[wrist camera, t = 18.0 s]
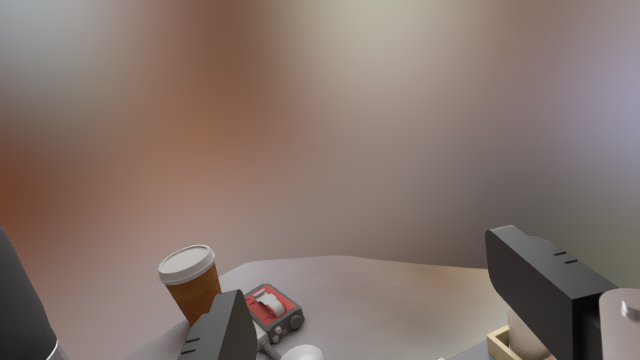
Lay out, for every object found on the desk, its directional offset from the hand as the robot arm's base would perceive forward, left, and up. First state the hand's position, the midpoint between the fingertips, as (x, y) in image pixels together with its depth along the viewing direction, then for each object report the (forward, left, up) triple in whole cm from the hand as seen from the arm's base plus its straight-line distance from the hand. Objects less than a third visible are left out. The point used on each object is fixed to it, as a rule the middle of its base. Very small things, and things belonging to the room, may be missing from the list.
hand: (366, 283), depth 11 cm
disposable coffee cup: (-14, +49, -30) cm, 59 cm away
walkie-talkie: (-4, +39, -31) cm, 49 cm away
